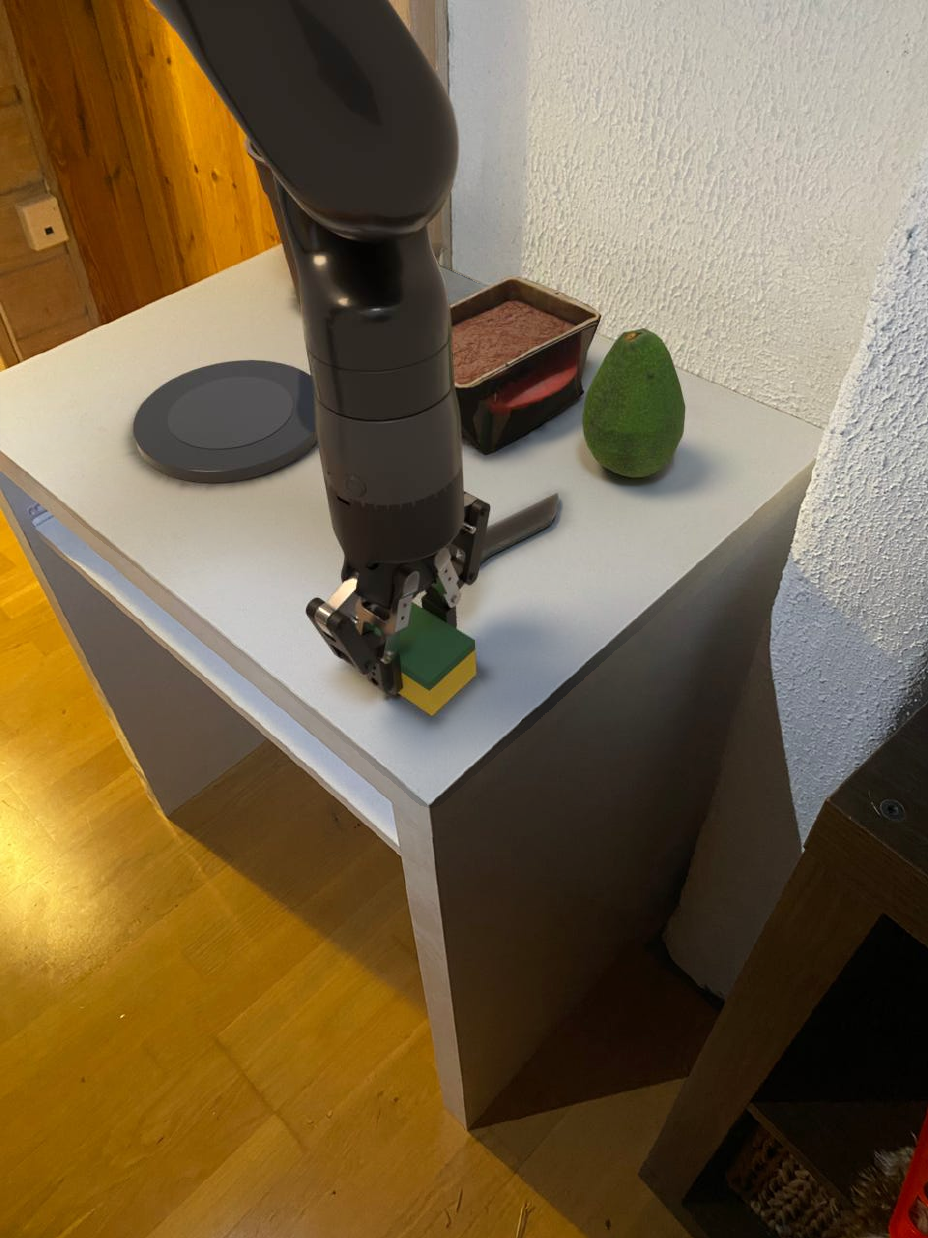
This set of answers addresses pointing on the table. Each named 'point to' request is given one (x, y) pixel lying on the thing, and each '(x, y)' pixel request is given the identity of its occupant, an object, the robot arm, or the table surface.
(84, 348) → the table surface
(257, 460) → the plate
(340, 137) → the robot arm
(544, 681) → the table surface
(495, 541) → the knife
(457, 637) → the sponge
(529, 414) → the baking dish
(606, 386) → the avocado
